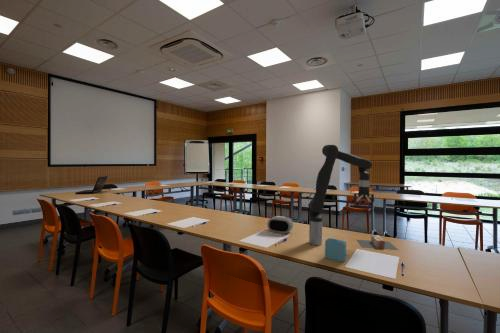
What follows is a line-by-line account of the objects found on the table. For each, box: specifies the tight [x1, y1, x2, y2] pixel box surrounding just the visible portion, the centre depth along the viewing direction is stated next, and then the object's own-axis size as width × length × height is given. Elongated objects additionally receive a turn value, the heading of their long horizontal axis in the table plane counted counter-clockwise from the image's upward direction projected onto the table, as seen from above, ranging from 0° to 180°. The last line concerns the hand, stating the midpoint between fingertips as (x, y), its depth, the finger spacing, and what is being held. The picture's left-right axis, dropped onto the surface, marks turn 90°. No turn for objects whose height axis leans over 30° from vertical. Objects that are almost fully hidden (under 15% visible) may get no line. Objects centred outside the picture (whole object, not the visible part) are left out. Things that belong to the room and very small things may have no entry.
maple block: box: [370, 234, 386, 248], centre depth 183 cm, size 5×5×14 cm
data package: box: [324, 237, 347, 263], centre depth 157 cm, size 12×4×12 cm, turn 53°
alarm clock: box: [266, 215, 294, 235], centre depth 215 cm, size 21×10×13 cm, turn 67°
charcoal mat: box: [356, 239, 399, 251], centre depth 183 cm, size 24×18×1 cm
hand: (363, 206), depth 191 cm, fingers open, 8 cm apart
